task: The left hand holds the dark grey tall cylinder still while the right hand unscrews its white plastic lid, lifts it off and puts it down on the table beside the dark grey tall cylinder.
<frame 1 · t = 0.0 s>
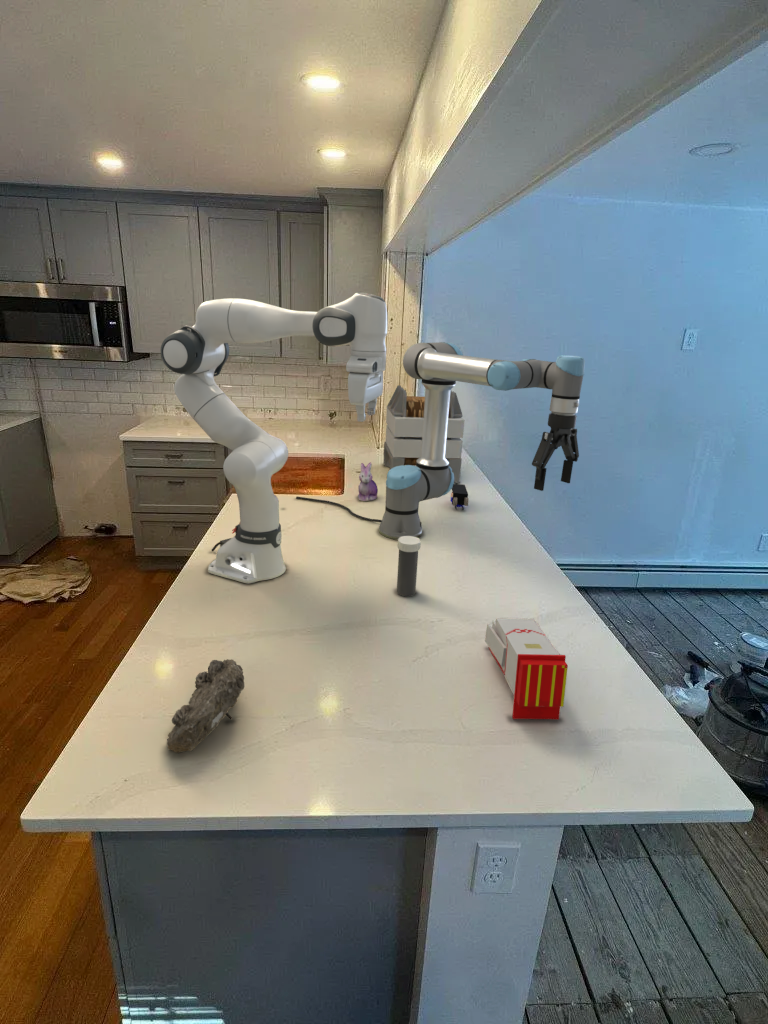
left hand: (366, 418, 146), 48 cm above the counter, tool pointing down, fingers open, 8 cm apart
right hand: (552, 485, 166), 28 cm above the counter, tool pointing down, fingers open, 13 cm apart
figurine character: (458, 506, 231), on the counter
fossil: (212, 717, 108), on the counter
lid: (409, 541, 154), point 15 cm above the counter, screwed on, not yet turned
toy: (517, 677, 124), on the counter
figurine: (367, 498, 235), on the counter
grey slatted crate: (419, 473, 275), on the counter
dark grey tall cylinder: (406, 592, 159), on the counter
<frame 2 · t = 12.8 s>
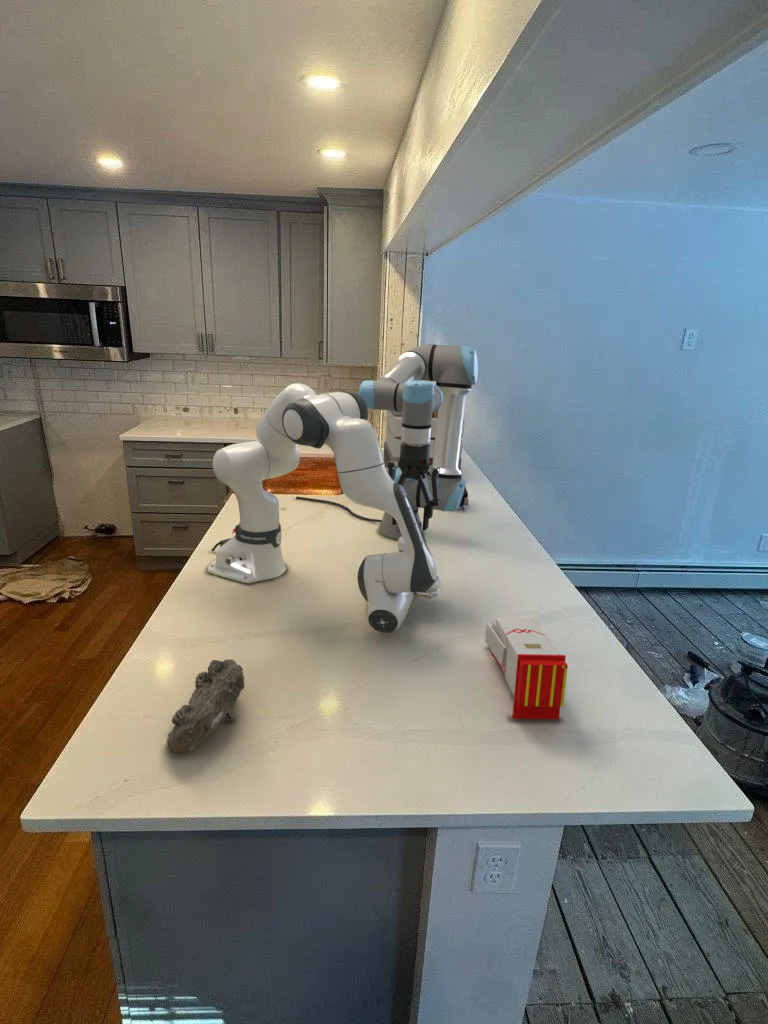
left hand: (407, 569, 158), 7 cm above the counter, tool horizontal, fingers closed on dark grey tall cylinder, 5 cm apart
right hand: (410, 526, 152), 20 cm above the counter, tool pointing down, fingers open, 8 cm apart
dark grey tall cylinder: (406, 592, 159), on the counter, touching left hand
everything else where it was.
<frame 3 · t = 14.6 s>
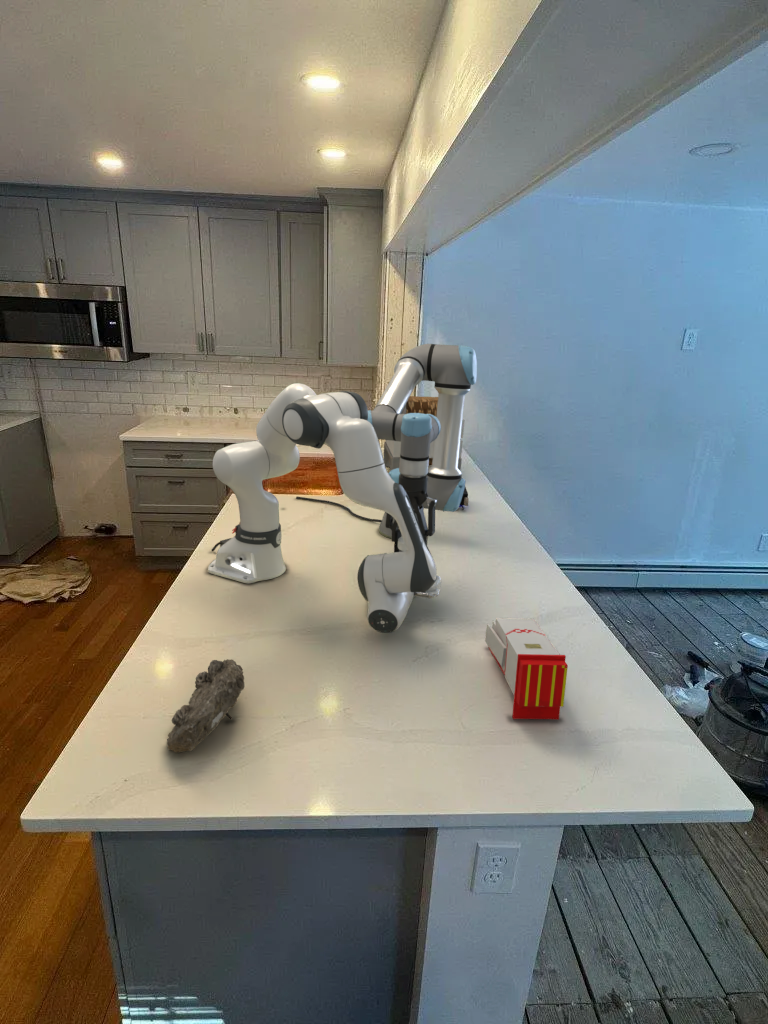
left hand: (407, 569, 158), 7 cm above the counter, tool horizontal, fingers closed on dark grey tall cylinder, 5 cm apart
right hand: (408, 554, 155), 11 cm above the counter, tool pointing down, fingers closed on lid, 6 cm apart
lid: (409, 541, 154), point 15 cm above the counter, screwed on, not yet turned, touching right hand
dark grey tall cylinder: (406, 592, 159), on the counter, touching left hand
everything else where it was.
when the right hand's fingers open (12 cm above the counter, at t = 16.0 s): lid stays where it is, point 16 cm above the counter.
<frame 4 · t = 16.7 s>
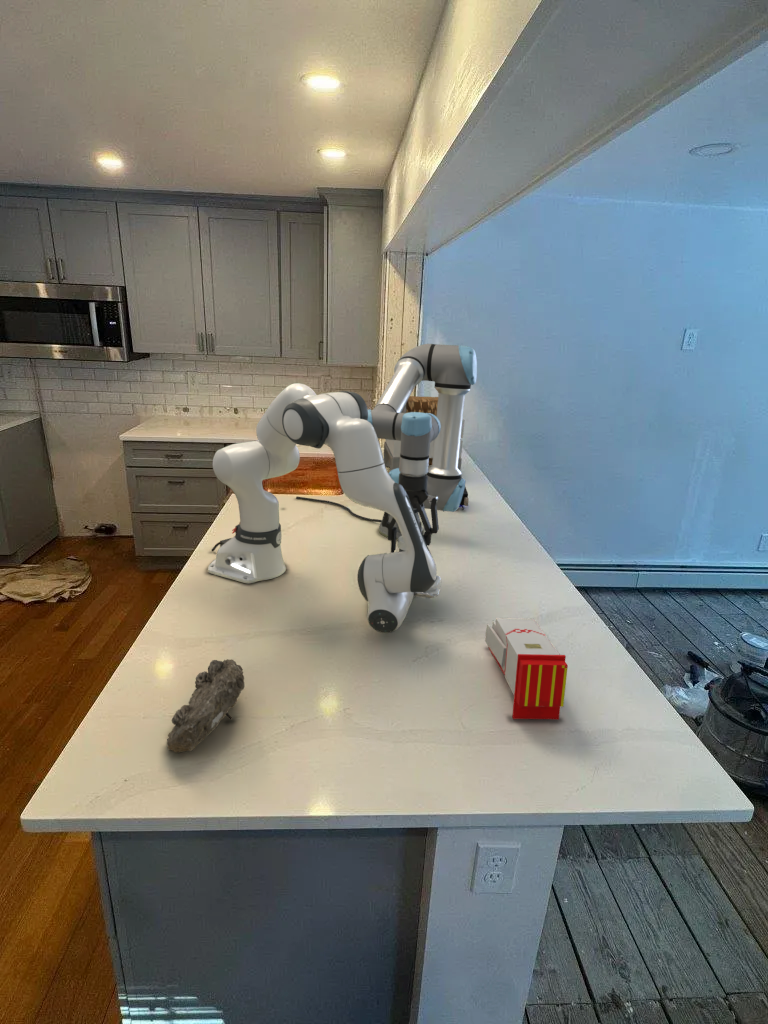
left hand: (407, 569, 158), 7 cm above the counter, tool horizontal, fingers closed on dark grey tall cylinder, 5 cm apart
right hand: (408, 553, 155), 12 cm above the counter, tool pointing down, fingers open, 8 cm apart
lid: (409, 540, 154), point 16 cm above the counter, turned 93° so far, risen 0.2 cm, still on its thread
dark grey tall cylinder: (406, 592, 159), on the counter, touching left hand
everything else where it was.
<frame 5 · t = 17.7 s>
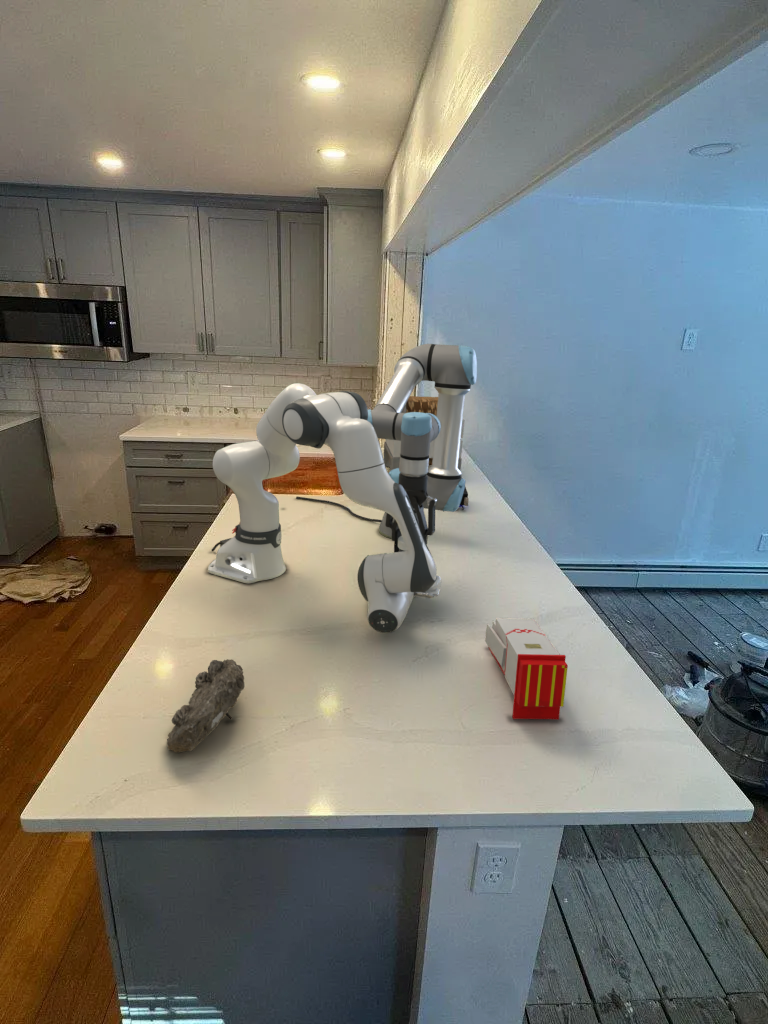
left hand: (407, 569, 158), 7 cm above the counter, tool horizontal, fingers closed on dark grey tall cylinder, 5 cm apart
right hand: (408, 554, 155), 12 cm above the counter, tool pointing down, fingers closed on lid, 6 cm apart
lid: (409, 540, 154), point 16 cm above the counter, turned 93° so far, risen 0.2 cm, still on its thread, touching right hand
dark grey tall cylinder: (406, 592, 159), on the counter, touching left hand
everything else where it was.
when the right hand's fingers open (0 cm above the counter, at t = 24.0 s): lid drops 2 cm, point 2 cm above the counter.
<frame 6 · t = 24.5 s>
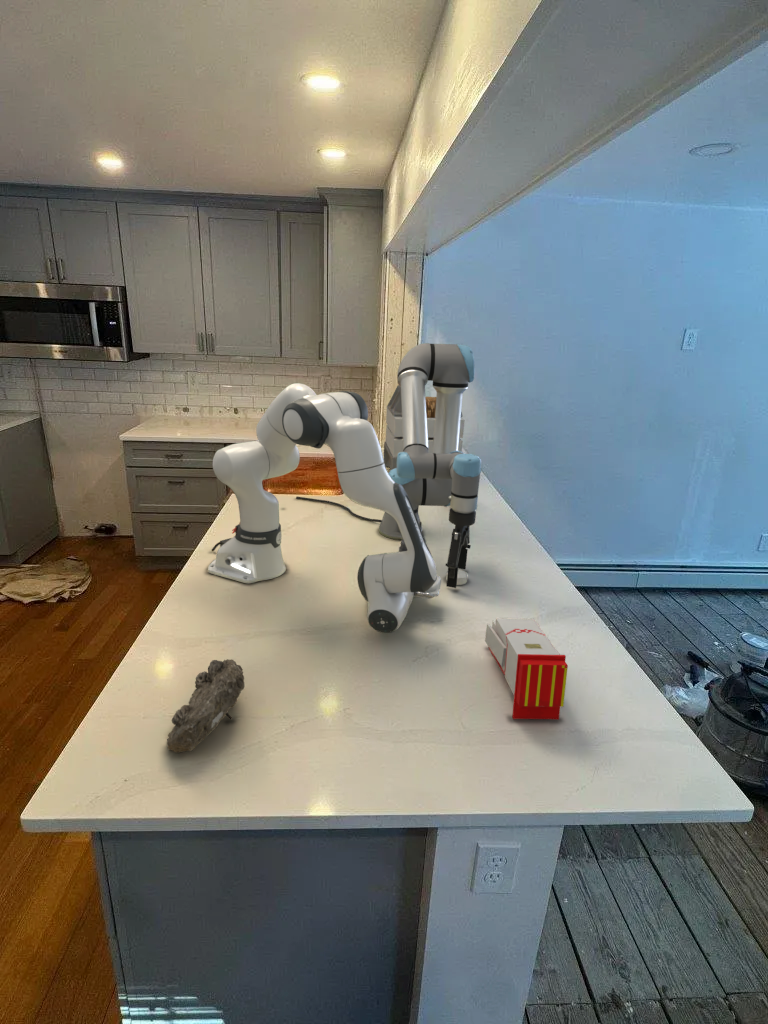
left hand: (407, 569, 158), 7 cm above the counter, tool horizontal, fingers closed on dark grey tall cylinder, 5 cm apart
right hand: (456, 577, 167), 1 cm above the counter, tool pointing down, fingers open, 13 cm apart
lid: (456, 574, 167), point 2 cm above the counter, off its thread
dark grey tall cylinder: (406, 592, 159), on the counter, touching left hand
everything else where it was.
when the left hand's fingers open (7 cm above the counter, at t = 25.3 s): dark grey tall cylinder stays where it is, on the counter.
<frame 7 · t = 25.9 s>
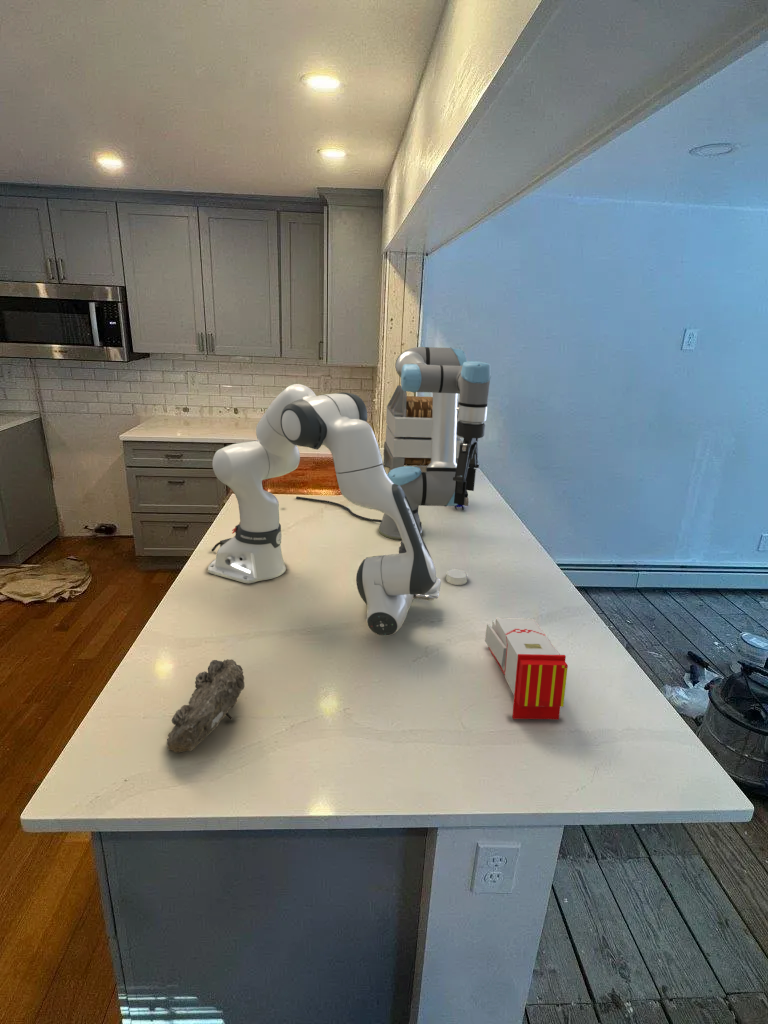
left hand: (407, 571, 156), 7 cm above the counter, tool horizontal, fingers open, 8 cm apart
right hand: (464, 496, 159), 26 cm above the counter, tool pointing down, fingers open, 13 cm apart
dark grey tall cylinder: (406, 592, 159), on the counter
everything else where it was.
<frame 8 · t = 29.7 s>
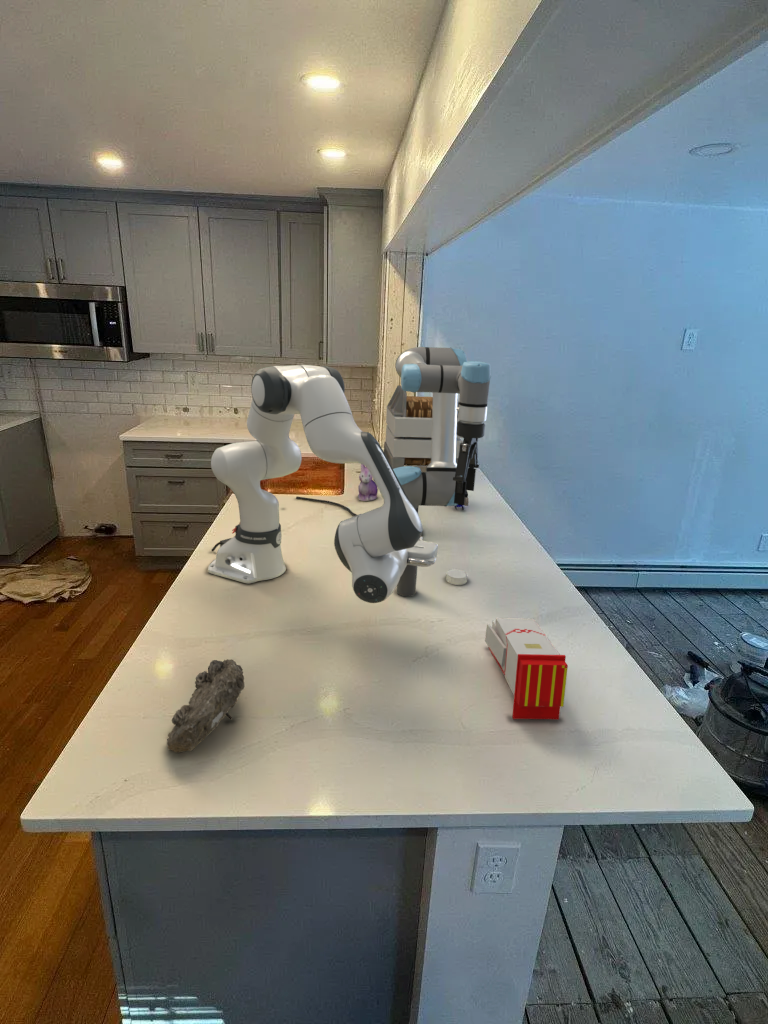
left hand: (400, 536, 141), 22 cm above the counter, tool horizontal, fingers open, 8 cm apart
right hand: (464, 496, 159), 26 cm above the counter, tool pointing down, fingers open, 13 cm apart
nothing on the counter moved.
at the end: lid came off its thread; lid point 1.9 cm above the counter; the left hand is holding nothing; the right hand is holding nothing; dark grey tall cylinder tilted 0°; dark grey tall cylinder moved 0.0 cm from its start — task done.
